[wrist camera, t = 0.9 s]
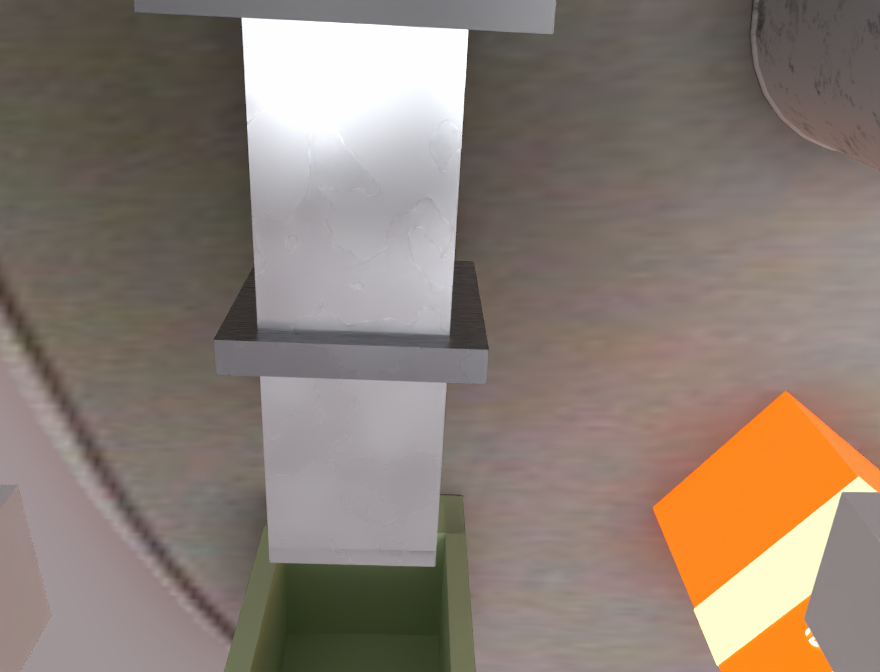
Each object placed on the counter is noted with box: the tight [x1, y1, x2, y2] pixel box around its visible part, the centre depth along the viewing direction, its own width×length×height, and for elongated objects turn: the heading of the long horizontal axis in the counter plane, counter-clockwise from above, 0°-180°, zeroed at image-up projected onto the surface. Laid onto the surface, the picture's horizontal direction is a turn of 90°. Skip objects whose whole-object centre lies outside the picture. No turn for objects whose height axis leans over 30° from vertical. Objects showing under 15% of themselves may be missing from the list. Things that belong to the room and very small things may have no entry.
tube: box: [214, 18, 489, 567], centre depth 21 cm, size 25×7×7 cm, turn 177°
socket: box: [224, 495, 476, 672], centre depth 30 cm, size 7×8×11 cm
